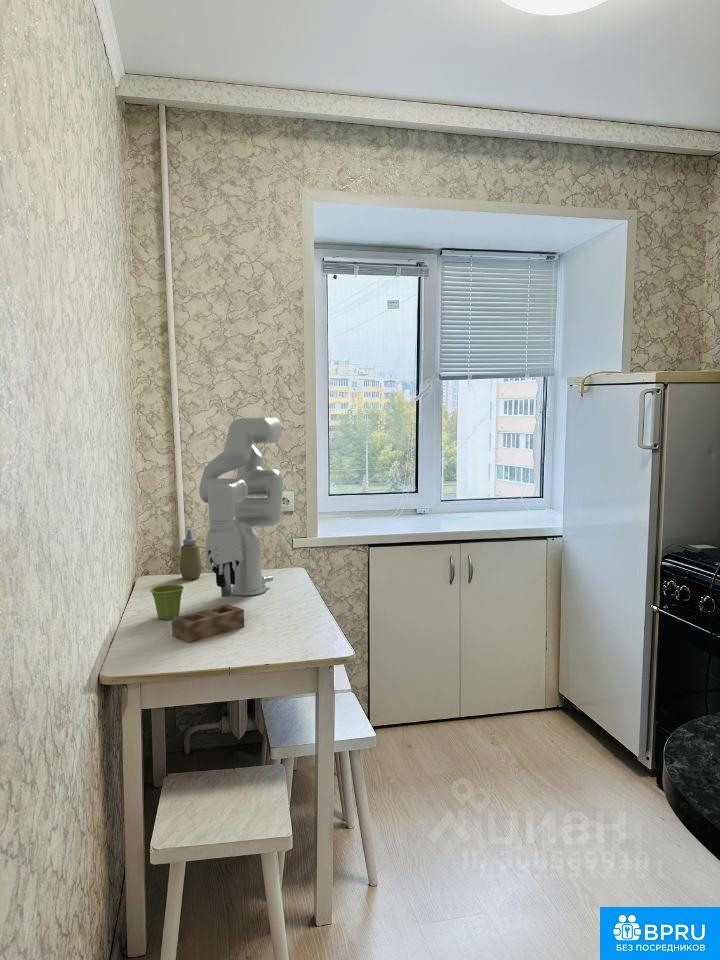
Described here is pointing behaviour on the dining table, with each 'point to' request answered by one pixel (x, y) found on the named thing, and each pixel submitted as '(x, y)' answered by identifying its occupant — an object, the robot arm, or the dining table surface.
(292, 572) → the dining table surface
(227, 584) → the pin
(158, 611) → the plant pot
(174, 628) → the socket block
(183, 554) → the squeeze bottle
